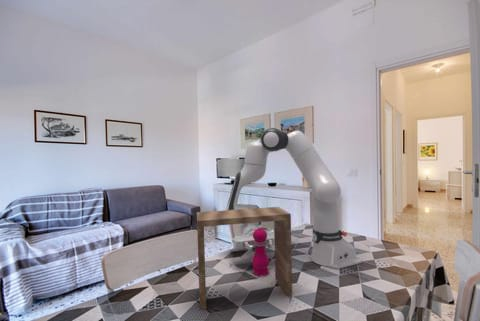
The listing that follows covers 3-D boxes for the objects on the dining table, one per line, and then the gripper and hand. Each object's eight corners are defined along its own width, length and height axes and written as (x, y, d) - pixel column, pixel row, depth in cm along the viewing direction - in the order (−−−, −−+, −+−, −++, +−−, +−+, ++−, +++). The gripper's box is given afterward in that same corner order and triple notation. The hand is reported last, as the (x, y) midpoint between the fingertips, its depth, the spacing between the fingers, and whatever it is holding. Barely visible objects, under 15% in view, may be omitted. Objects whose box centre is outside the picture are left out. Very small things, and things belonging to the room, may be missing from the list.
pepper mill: (268, 277, 98) (267, 228, 97) (251, 275, 99) (249, 227, 98) (270, 268, 105) (269, 223, 104) (253, 267, 106) (252, 222, 106)
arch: (280, 278, 96) (278, 206, 95) (292, 295, 84) (290, 213, 84) (199, 289, 90) (196, 212, 89) (200, 309, 78) (197, 221, 77)
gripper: (230, 231, 112) (236, 242, 99) (272, 228, 116) (283, 237, 103) (231, 245, 112) (236, 257, 99) (273, 241, 116) (283, 252, 103)
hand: (260, 247), depth 101 cm, fingers open, 7 cm apart
